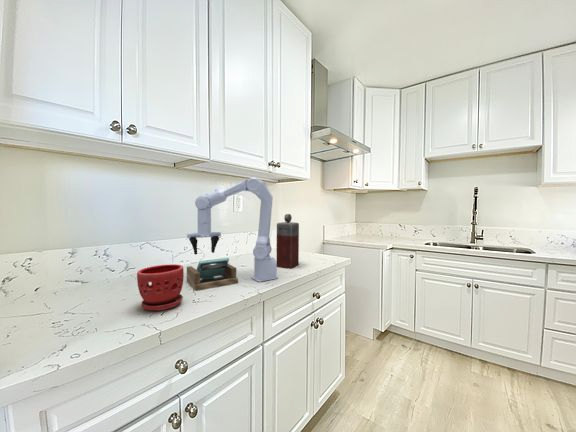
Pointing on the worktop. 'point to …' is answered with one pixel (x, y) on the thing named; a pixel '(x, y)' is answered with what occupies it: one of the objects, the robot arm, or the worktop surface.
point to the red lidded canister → (287, 243)
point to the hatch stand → (228, 274)
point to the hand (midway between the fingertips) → (204, 253)
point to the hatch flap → (212, 267)
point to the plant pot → (160, 286)
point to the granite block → (207, 278)
